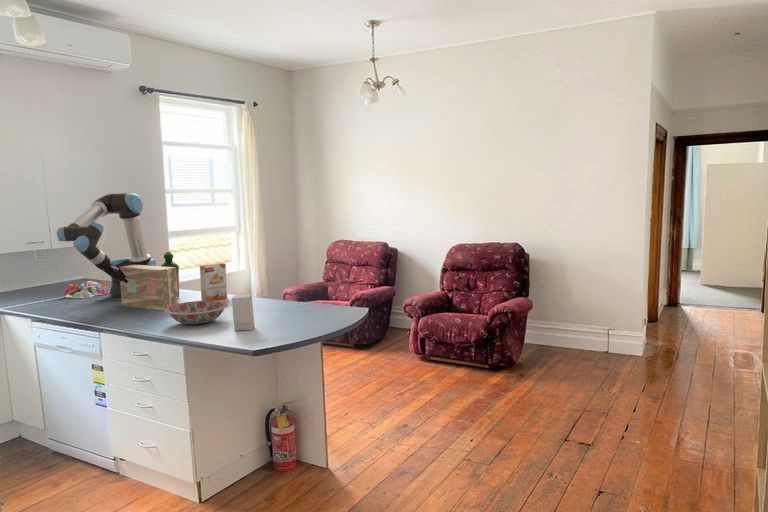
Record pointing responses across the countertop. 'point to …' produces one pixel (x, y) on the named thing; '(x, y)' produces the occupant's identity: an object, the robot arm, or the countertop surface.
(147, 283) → the terracotta button
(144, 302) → the block
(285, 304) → the countertop surface
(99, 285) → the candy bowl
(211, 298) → the cracker box
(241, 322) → the skincare box
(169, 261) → the bottle
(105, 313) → the countertop surface
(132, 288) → the sage button
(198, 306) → the ceramic bowl
